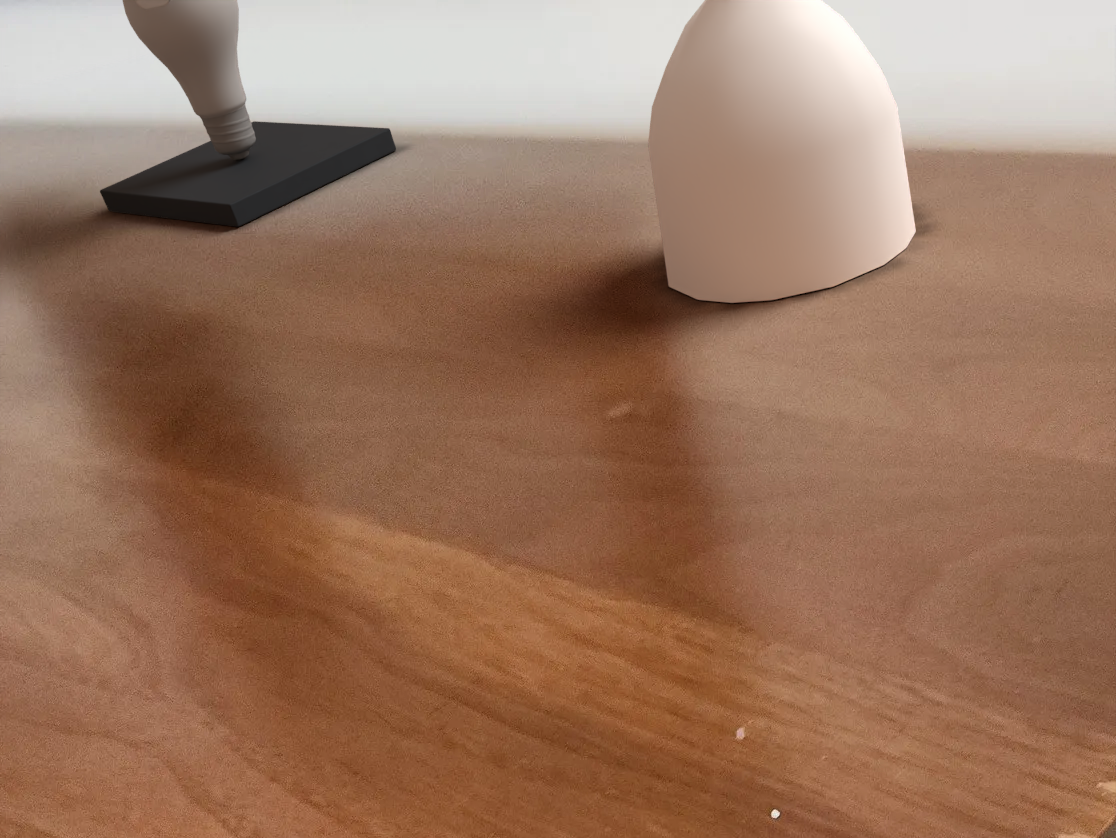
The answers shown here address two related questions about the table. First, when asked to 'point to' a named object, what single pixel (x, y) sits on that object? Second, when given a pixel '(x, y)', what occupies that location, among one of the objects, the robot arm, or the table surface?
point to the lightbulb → (202, 63)
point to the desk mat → (249, 173)
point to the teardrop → (775, 154)
